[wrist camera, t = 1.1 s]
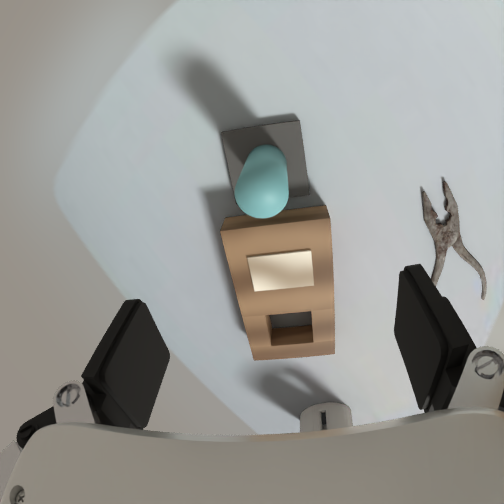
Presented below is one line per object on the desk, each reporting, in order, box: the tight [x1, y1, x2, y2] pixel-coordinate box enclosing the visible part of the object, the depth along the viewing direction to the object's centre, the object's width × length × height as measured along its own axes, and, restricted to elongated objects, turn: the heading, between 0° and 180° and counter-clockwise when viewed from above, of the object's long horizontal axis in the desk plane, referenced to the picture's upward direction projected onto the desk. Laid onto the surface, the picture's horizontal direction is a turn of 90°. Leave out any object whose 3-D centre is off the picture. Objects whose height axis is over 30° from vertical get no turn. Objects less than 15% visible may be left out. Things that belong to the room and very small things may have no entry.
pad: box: [221, 120, 310, 204], centre depth 28 cm, size 7×7×1 cm
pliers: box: [422, 181, 486, 300], centre depth 32 cm, size 10×1×20 cm
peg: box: [235, 145, 289, 218], centre depth 24 cm, size 4×4×8 cm
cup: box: [300, 402, 353, 432], centre depth 44 cm, size 9×9×12 cm
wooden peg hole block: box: [220, 205, 335, 360], centre depth 34 cm, size 18×10×3 cm, turn 10°
